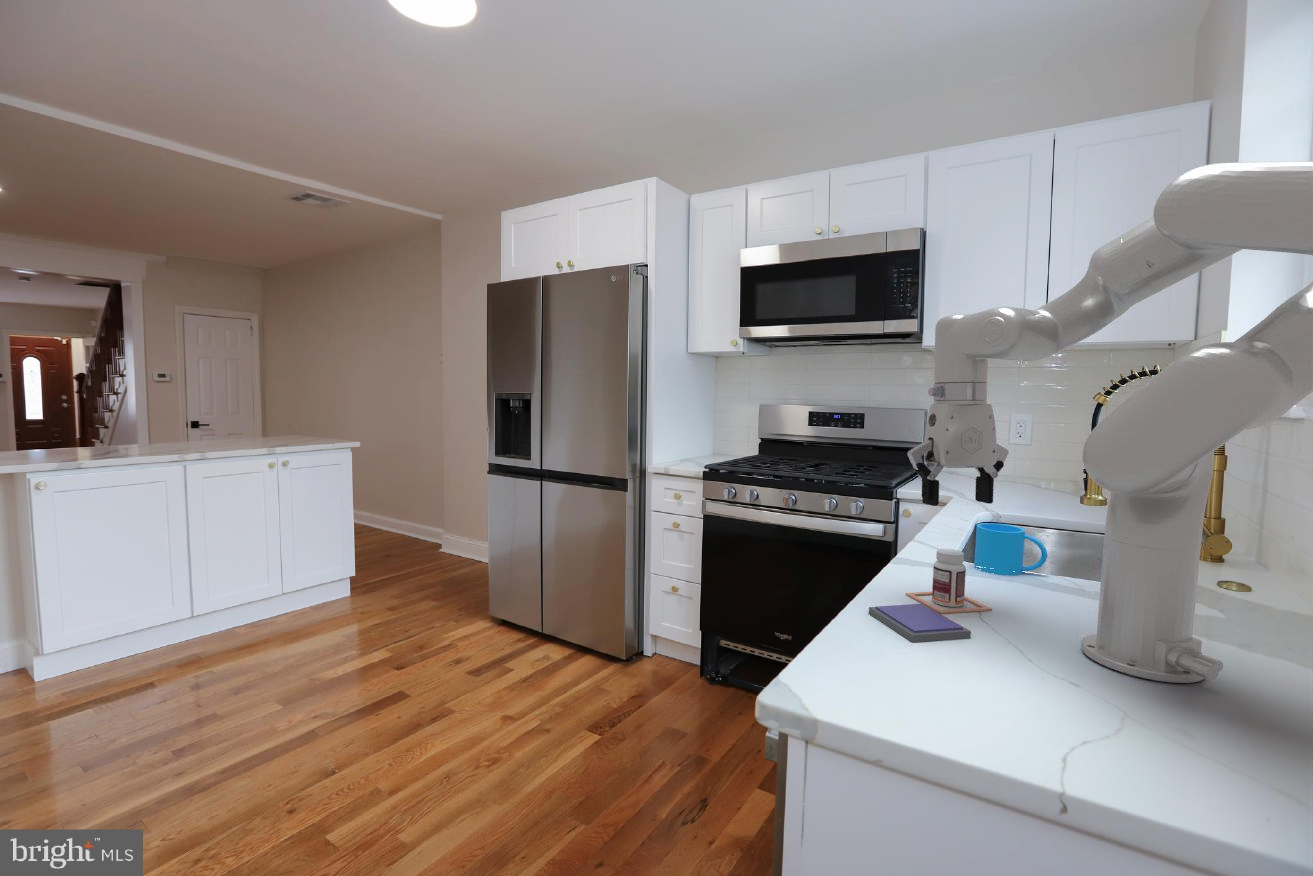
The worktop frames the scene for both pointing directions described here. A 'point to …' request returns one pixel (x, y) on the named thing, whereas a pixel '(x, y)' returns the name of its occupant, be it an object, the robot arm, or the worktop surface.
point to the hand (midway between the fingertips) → (957, 503)
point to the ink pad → (919, 623)
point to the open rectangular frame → (982, 608)
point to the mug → (1003, 549)
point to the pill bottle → (949, 578)
